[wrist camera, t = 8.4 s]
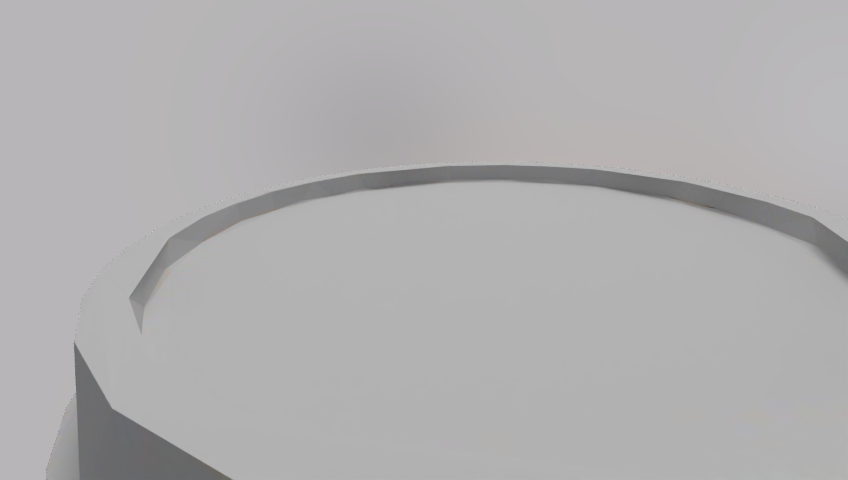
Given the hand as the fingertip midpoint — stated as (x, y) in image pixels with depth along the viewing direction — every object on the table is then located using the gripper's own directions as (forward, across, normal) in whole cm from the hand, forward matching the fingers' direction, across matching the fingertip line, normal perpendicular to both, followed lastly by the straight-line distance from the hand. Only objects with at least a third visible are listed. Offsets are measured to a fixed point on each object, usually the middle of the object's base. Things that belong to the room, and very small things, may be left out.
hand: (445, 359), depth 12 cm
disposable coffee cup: (-5, 0, -7) cm, 8 cm away
